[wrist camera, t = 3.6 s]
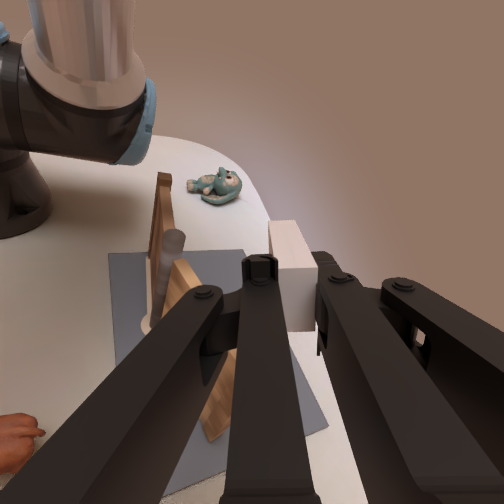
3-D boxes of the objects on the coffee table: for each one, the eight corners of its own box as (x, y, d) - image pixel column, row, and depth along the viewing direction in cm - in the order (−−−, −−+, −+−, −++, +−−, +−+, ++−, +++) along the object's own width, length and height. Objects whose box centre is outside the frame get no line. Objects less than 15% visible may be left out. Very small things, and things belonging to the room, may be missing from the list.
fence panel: (156, 335, 35) (172, 253, 26) (168, 330, 36) (188, 249, 27) (209, 442, 28) (254, 382, 20) (223, 433, 29) (271, 372, 21)
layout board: (108, 255, 42) (108, 253, 42) (242, 251, 53) (243, 249, 52) (126, 512, 24) (126, 511, 23) (327, 427, 34) (329, 425, 34)
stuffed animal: (184, 154, 62) (238, 155, 65) (185, 183, 67) (235, 183, 70) (189, 181, 54) (249, 180, 58) (189, 211, 59) (245, 209, 62)
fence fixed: (165, 332, 36) (186, 243, 27) (149, 334, 35) (164, 242, 26) (159, 254, 46) (173, 167, 36) (146, 253, 45) (157, 164, 35)
